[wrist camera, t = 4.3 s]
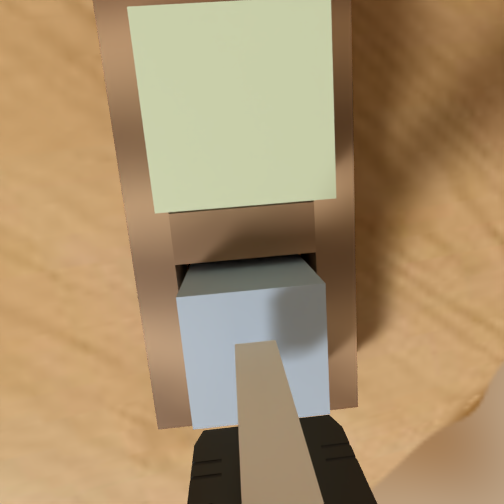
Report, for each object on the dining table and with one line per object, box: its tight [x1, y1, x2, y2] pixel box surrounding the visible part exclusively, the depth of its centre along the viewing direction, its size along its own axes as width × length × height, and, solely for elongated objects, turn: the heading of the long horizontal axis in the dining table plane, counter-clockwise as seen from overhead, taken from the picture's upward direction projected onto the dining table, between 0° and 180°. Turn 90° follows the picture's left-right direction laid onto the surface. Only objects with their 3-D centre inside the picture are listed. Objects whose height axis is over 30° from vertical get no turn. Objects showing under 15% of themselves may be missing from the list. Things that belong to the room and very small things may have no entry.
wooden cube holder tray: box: [93, 0, 358, 429], centre depth 18 cm, size 30×11×4 cm, turn 4°
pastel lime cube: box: [127, 0, 336, 213], centre depth 14 cm, size 6×6×7 cm
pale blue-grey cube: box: [176, 254, 330, 429], centre depth 18 cm, size 6×6×7 cm
